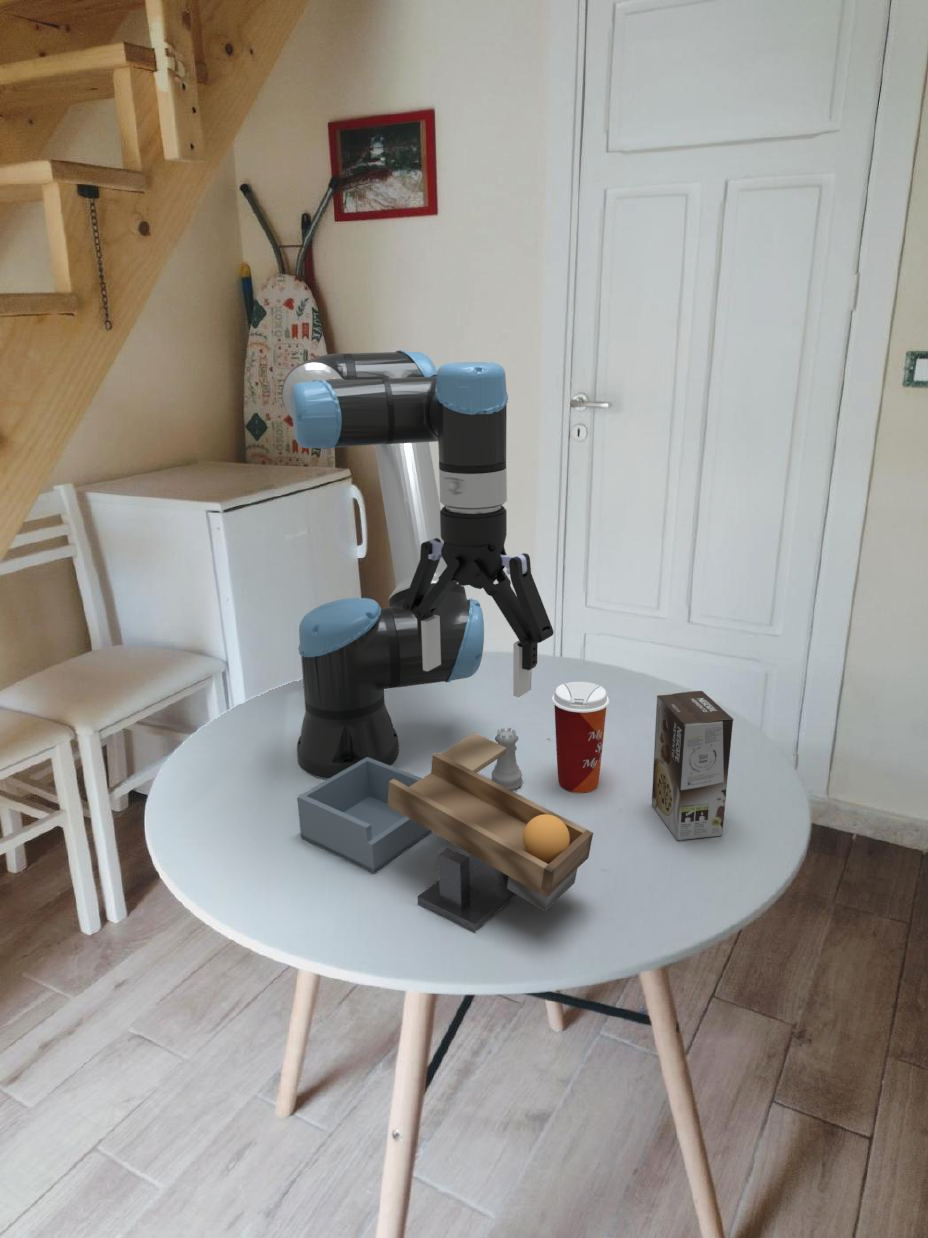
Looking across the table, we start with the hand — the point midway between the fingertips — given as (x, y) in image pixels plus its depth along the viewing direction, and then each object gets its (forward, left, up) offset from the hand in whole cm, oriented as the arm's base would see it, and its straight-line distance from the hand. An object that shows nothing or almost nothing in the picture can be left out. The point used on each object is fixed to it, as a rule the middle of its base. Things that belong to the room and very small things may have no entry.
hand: (475, 679), depth 105 cm
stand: (+8, -9, -20) cm, 24 cm away
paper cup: (+5, +17, -21) cm, 27 cm away
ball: (+16, -9, -11) cm, 21 cm away
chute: (+7, -5, -16) cm, 19 cm away
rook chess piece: (-3, +11, -21) cm, 24 cm away
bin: (-10, -9, -20) cm, 25 cm away
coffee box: (+21, +17, -21) cm, 34 cm away
